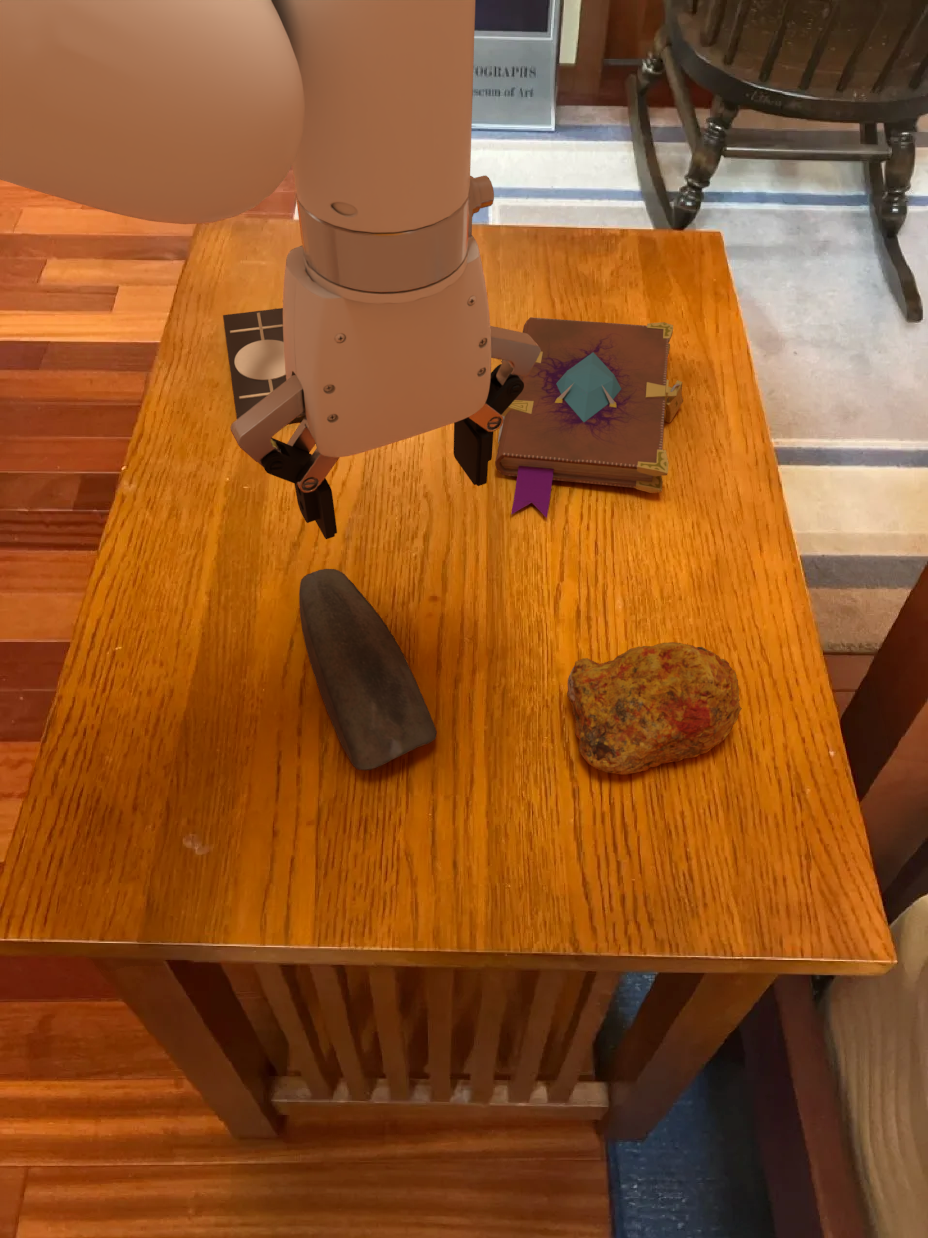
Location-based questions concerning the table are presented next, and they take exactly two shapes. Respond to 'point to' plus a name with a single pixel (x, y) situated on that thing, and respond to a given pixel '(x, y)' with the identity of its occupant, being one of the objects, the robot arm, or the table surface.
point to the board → (255, 356)
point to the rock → (652, 706)
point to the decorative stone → (361, 673)
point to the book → (590, 409)
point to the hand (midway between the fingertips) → (397, 495)
